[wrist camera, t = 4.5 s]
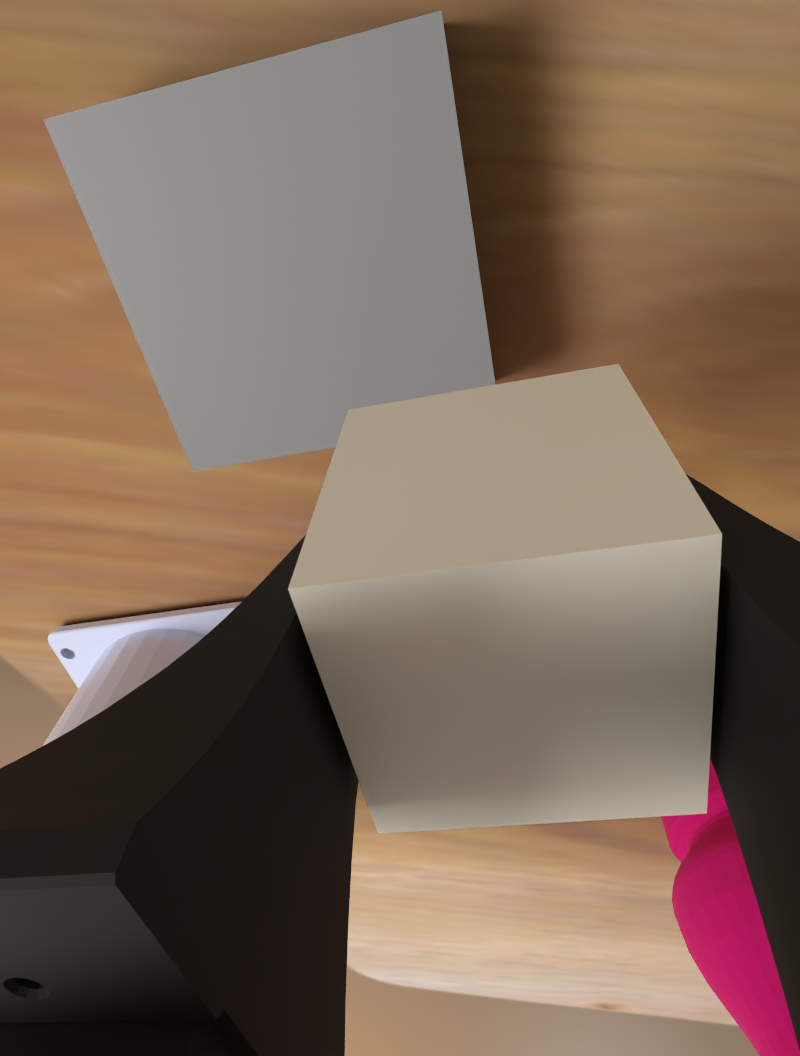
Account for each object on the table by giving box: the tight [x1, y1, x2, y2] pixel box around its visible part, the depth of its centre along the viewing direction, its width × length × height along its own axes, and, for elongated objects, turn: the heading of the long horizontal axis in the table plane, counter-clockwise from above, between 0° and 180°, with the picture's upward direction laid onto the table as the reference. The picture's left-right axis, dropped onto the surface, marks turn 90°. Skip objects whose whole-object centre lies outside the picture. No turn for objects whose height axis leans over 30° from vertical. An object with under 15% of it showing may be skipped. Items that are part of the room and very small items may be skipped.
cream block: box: [288, 364, 722, 834], centre depth 10 cm, size 4×4×5 cm
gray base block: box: [44, 10, 496, 471], centre depth 16 cm, size 8×8×3 cm
